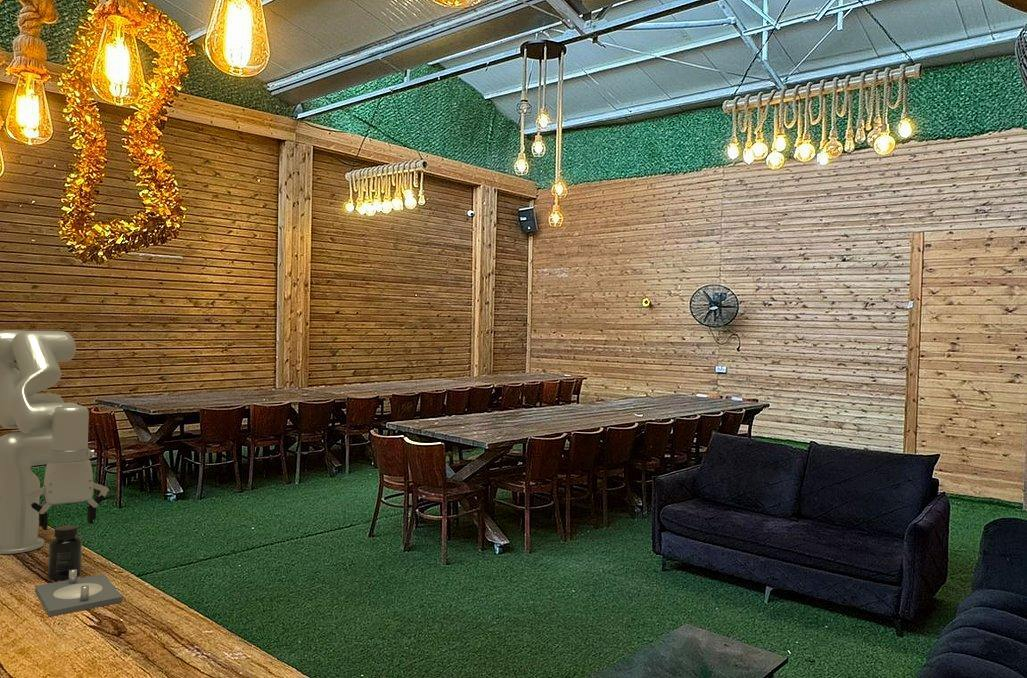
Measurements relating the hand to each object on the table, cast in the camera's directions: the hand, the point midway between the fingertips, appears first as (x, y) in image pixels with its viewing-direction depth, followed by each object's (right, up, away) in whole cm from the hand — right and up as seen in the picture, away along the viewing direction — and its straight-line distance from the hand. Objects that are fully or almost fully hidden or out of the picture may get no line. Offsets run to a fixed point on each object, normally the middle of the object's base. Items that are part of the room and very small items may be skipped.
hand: (67, 525), depth 172 cm
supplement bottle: (-1, -13, +1) cm, 13 cm away
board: (+10, -13, -11) cm, 20 cm away
